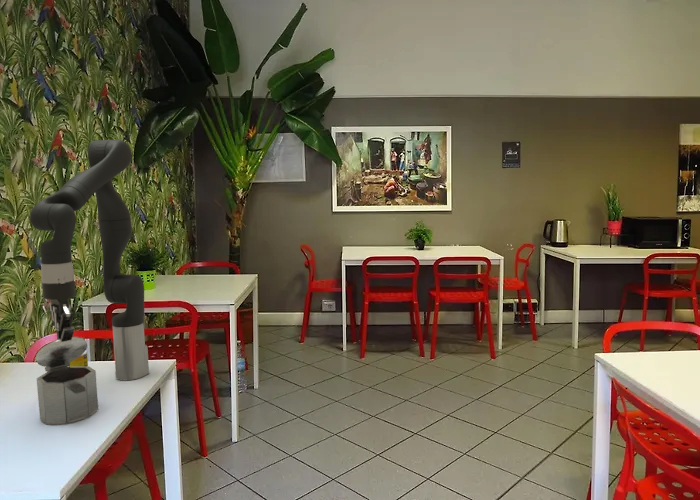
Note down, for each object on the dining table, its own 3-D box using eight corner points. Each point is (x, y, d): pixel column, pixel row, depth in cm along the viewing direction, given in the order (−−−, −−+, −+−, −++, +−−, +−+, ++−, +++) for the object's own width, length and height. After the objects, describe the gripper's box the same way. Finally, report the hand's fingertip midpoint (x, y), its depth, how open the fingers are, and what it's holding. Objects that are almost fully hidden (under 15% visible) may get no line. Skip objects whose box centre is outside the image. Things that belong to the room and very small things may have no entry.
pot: (85, 398, 152) (82, 361, 151) (110, 416, 140) (107, 376, 138) (32, 413, 143) (29, 374, 141) (54, 434, 130) (50, 391, 129)
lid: (81, 364, 150) (79, 357, 151) (95, 325, 140) (92, 319, 140) (32, 375, 141) (30, 368, 142) (43, 335, 131) (40, 328, 132)
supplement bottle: (87, 378, 169) (85, 347, 168) (68, 380, 167) (65, 349, 166) (89, 372, 174) (87, 342, 173) (70, 375, 172) (68, 344, 171)
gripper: (34, 278, 140) (39, 341, 142) (50, 285, 131) (55, 352, 133) (65, 274, 145) (69, 335, 148) (82, 280, 136) (86, 345, 138)
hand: (63, 343), depth 140 cm, fingers closed
